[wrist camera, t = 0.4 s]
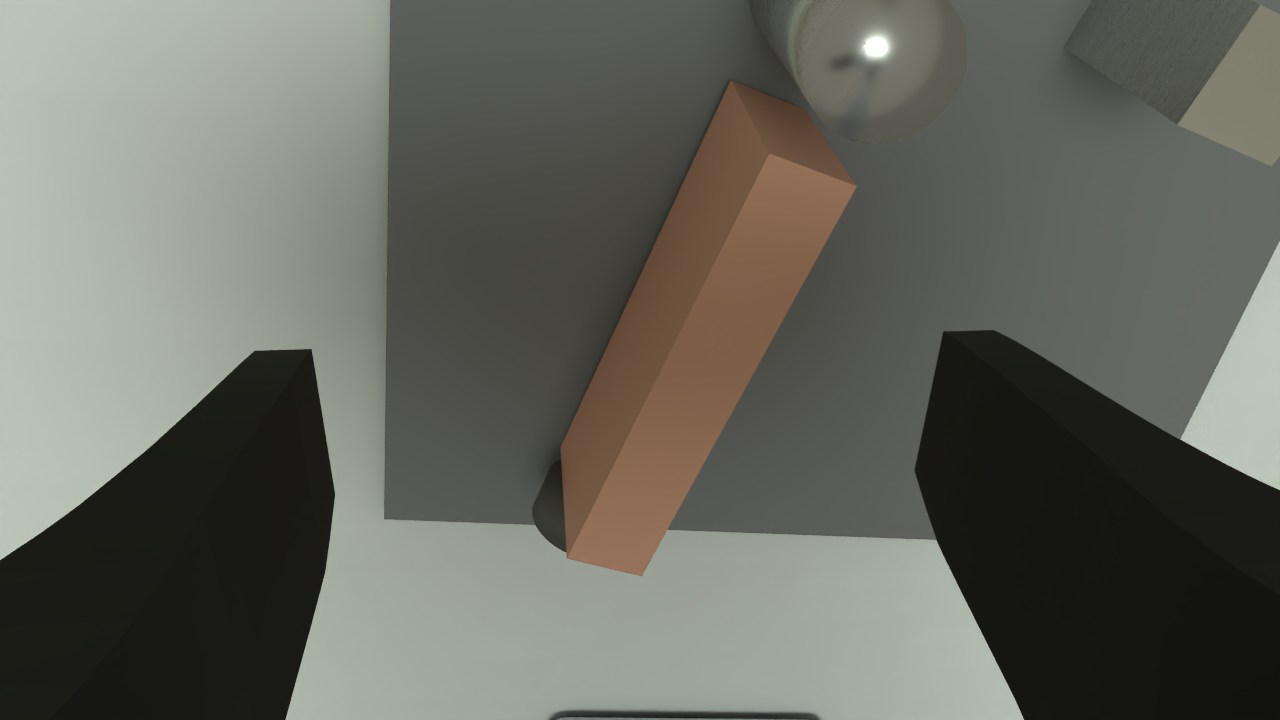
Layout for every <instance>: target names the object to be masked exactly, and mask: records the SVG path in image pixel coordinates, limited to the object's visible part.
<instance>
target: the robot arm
mask: <svg viewBox="0 0 1280 720" xmlns="http://www.w3.org/2000/svg"><path fill="white" fill-rule="evenodd" d="M914 471H915V474H916V478H917V481H918V484H919V487H920V491H921V494H922V497H923V501H924V504H925V507H926V510H927V513H928V516H929V519H930V522H931V525H932V528H933V531H934V534H935V537H936V539H937V542H938V544H939V546H940V549H941V551H942V553H943V555H944V557H945V559H946V561H947V563H948V565H949V567H950V569H951V572H952V574H953V576H954V578H955V580H956V582H957V584H958V586H959V588H960V590H961V592H962V594H963V596H964V598H965V600H966V602H967V604H968V606H969V608H970V610H971V612H972V614H973V616H974V618H975V620H976V622H977V624H978V626H979V628H980V630H981V632H982V634H983V636H984V638H985V640H986V642H987V644H988V646H989V648H990V650H991V652H992V654H993V656H994V658H995V660H996V662H997V664H998V666H999V668H1000V670H1001V672H1002V674H1003V676H1004V678H1005V680H1006V682H1007V684H1008V686H1009V688H1010V690H1011V692H1012V694H1013V696H1014V698H1015V700H1016V702H1017V704H1018V707H1019V709H1020V711H1021V713H1022V716H1023V718H1024V720H1280V490H1278V489H1276V488H1274V487H1271V486H1269V485H1267V484H1265V483H1263V482H1260V481H1258V480H1256V479H1254V478H1252V477H1250V476H1248V475H1246V474H1244V473H1242V472H1240V471H1238V470H1236V469H1234V468H1232V467H1230V466H1228V465H1226V464H1224V463H1222V462H1220V461H1219V460H1217V459H1215V458H1213V457H1211V456H1209V455H1208V454H1206V453H1204V452H1202V451H1200V450H1198V449H1196V448H1195V447H1193V446H1191V445H1189V444H1187V443H1185V442H1184V441H1182V440H1180V439H1178V438H1176V437H1174V436H1173V435H1171V434H1169V433H1167V432H1166V431H1164V430H1162V429H1160V428H1159V427H1157V426H1155V425H1154V424H1152V423H1150V422H1148V421H1147V420H1145V419H1143V418H1142V417H1140V416H1138V415H1136V414H1135V413H1133V412H1131V411H1130V410H1128V409H1126V408H1125V407H1123V406H1121V405H1120V404H1118V403H1117V402H1115V401H1113V400H1112V399H1110V398H1108V397H1107V396H1105V395H1103V394H1102V393H1100V392H1099V391H1097V390H1095V389H1094V388H1092V387H1090V386H1089V385H1087V384H1086V383H1084V382H1082V381H1081V380H1079V379H1078V378H1076V377H1074V376H1073V375H1071V374H1070V373H1068V372H1066V371H1065V370H1063V369H1061V368H1060V367H1058V366H1057V365H1055V364H1053V363H1052V362H1050V361H1048V360H1047V359H1045V358H1044V357H1042V356H1040V355H1039V354H1037V353H1035V352H1034V351H1032V350H1030V349H1029V348H1027V347H1025V346H1023V345H1022V344H1020V343H1018V342H1016V341H1014V340H1013V339H1011V338H1009V337H1007V336H1005V335H1003V334H1001V333H999V332H997V331H995V330H975V331H943V335H942V339H941V344H940V349H939V354H938V359H937V364H936V368H935V373H934V378H933V383H932V388H931V392H930V397H929V402H928V407H927V412H926V417H925V421H924V426H923V431H922V436H921V441H920V446H919V450H918V455H917V460H916V465H915V470H914ZM334 498H335V491H334V485H333V479H332V473H331V467H330V460H329V454H328V448H327V442H326V436H325V430H324V423H323V417H322V411H321V405H320V399H319V393H318V386H317V380H316V374H315V368H314V362H313V355H312V349H304V350H268V351H254V352H253V353H252V354H251V355H250V356H248V357H247V358H246V359H245V360H244V361H243V362H242V363H241V364H239V365H238V366H237V367H236V368H235V369H234V370H233V371H232V372H231V373H230V374H229V375H228V376H227V377H226V378H225V379H224V380H223V381H221V382H220V383H219V384H218V385H217V386H216V387H215V388H214V389H213V390H212V391H211V392H210V393H209V394H208V395H207V396H206V397H205V398H204V399H202V400H201V401H200V402H199V403H198V404H197V405H196V406H195V407H194V408H193V409H192V410H191V411H190V412H188V413H187V414H186V415H185V416H184V417H183V418H182V419H181V420H180V421H179V422H177V423H176V424H175V425H174V426H173V427H172V428H171V429H170V430H169V431H168V432H166V433H165V434H164V435H163V436H162V437H161V438H160V439H159V440H158V441H157V442H155V443H154V444H153V445H152V446H151V447H150V448H149V449H148V450H146V451H145V452H144V453H143V454H141V455H140V456H139V457H138V458H137V459H135V460H134V461H133V462H132V463H130V464H129V465H128V466H127V467H126V468H124V469H123V470H122V471H121V472H119V473H118V474H117V475H116V476H114V477H113V478H112V479H111V480H110V481H108V482H107V483H106V484H105V485H103V486H102V487H101V488H100V489H99V490H97V491H96V492H95V493H94V494H92V495H91V496H90V497H89V498H87V499H86V500H85V501H84V502H83V503H81V504H80V505H79V506H77V507H76V508H75V509H73V510H72V511H71V512H69V513H68V514H67V515H65V516H64V517H63V518H61V519H60V520H58V521H57V522H56V523H54V524H53V525H51V526H50V527H49V528H47V529H46V530H44V531H43V532H42V533H40V534H39V535H37V536H36V537H34V538H33V539H31V540H30V541H28V542H27V543H25V544H24V545H22V546H21V547H19V548H18V549H16V550H15V551H13V552H12V553H10V554H9V555H7V556H6V557H4V558H3V559H1V560H0V720H285V719H286V715H287V712H288V708H289V704H290V701H291V697H292V693H293V690H294V686H295V682H296V679H297V675H298V671H299V668H300V664H301V661H302V657H303V653H304V650H305V646H306V642H307V639H308V635H309V631H310V627H311V624H312V620H313V616H314V612H315V609H316V605H317V601H318V597H319V594H320V590H321V586H322V582H323V578H324V574H325V569H326V562H327V555H328V548H329V540H330V532H331V524H332V515H333V507H334ZM557 720H810V719H706V718H598V717H564V718H559V719H557Z"/></svg>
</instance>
